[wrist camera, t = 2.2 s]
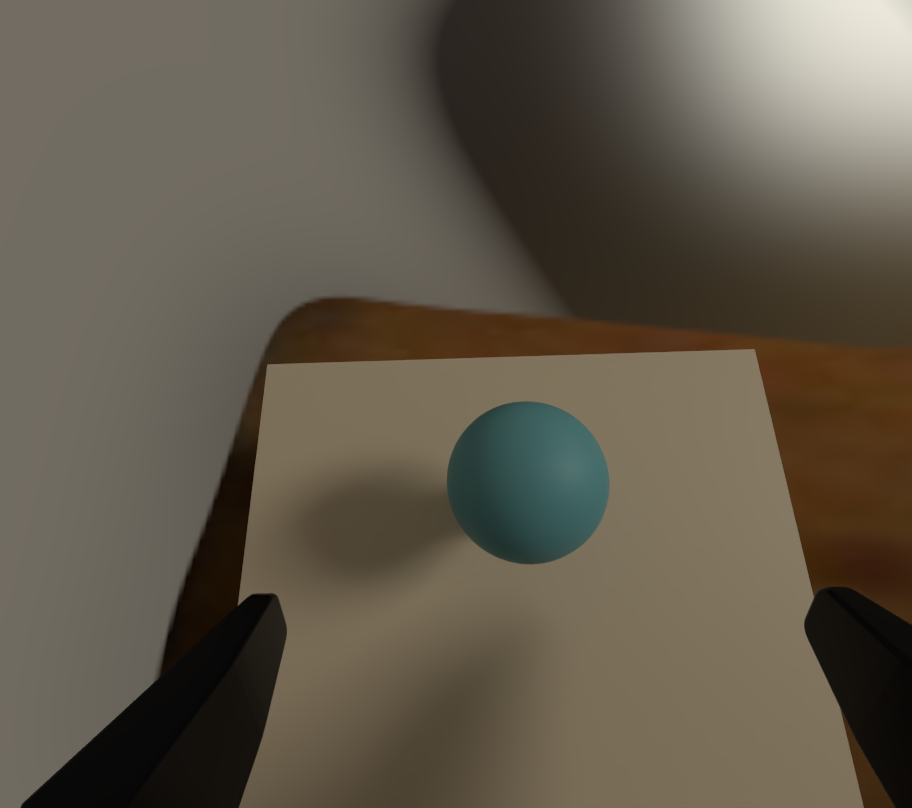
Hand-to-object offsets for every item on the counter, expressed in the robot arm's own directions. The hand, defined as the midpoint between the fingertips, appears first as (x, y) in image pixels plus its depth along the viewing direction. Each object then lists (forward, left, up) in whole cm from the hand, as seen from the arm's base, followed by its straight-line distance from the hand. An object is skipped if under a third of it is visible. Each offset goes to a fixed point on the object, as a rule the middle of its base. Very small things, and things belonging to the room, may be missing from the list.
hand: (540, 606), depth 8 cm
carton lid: (0, 0, -5) cm, 5 cm away
